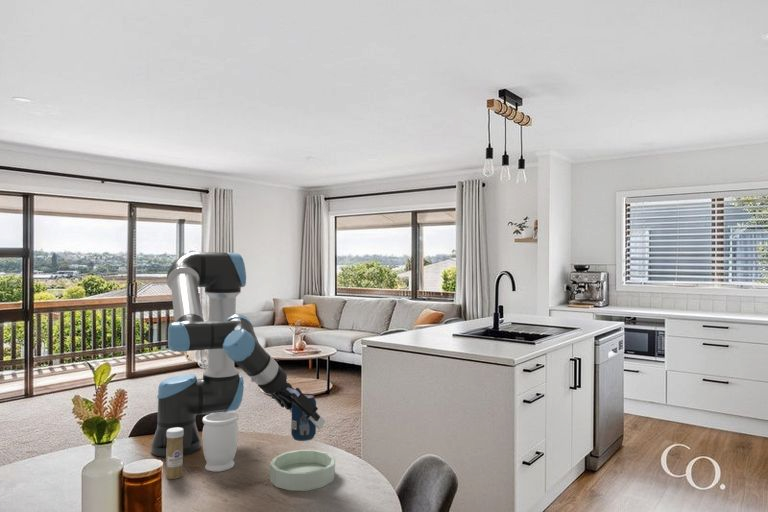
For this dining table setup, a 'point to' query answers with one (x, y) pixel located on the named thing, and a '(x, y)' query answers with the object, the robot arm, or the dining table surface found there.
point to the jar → (220, 440)
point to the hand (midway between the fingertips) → (313, 422)
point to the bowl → (302, 470)
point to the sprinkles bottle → (174, 452)
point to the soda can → (302, 423)
